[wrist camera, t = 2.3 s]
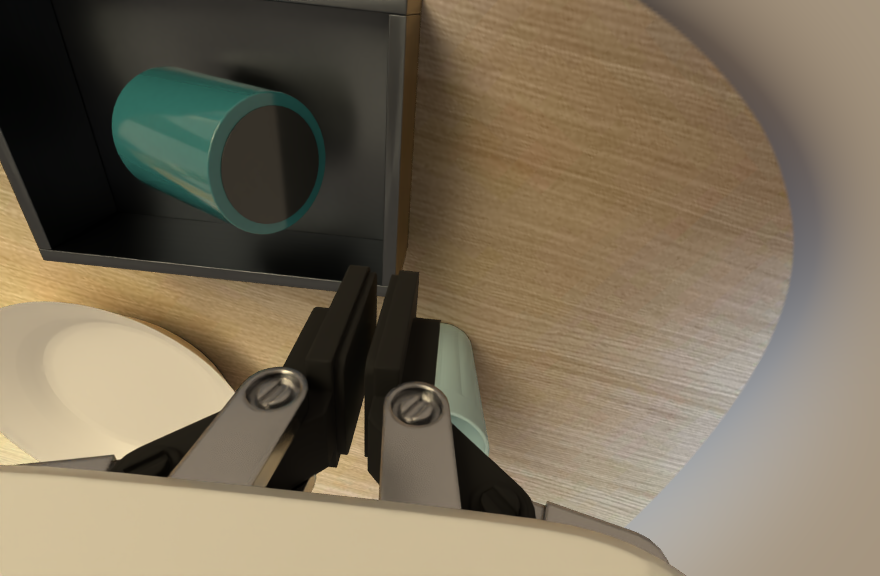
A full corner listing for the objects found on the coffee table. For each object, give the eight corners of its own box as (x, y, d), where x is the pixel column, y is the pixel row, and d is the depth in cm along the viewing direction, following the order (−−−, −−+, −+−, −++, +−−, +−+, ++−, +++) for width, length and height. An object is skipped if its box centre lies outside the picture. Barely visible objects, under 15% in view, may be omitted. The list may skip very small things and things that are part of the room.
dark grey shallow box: (34, -45, 25) (-99, -61, 19) (422, -3, 25) (407, -7, 19) (117, 216, 33) (43, 260, 27) (407, 247, 33) (394, 298, 27)
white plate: (310, 363, 40) (297, 393, 37) (227, 498, 52) (212, 529, 49) (7, 222, 34) (-39, 243, 31) (-8, 411, 46) (-42, 440, 43)
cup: (375, 348, 38) (348, 450, 29) (434, 294, 35) (423, 390, 26) (441, 393, 41) (434, 499, 32) (502, 346, 37) (513, 450, 29)
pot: (132, 207, 25) (223, 254, 21) (91, 68, 21) (193, 99, 18) (242, 178, 30) (329, 213, 26) (224, 63, 26) (323, 86, 23)
